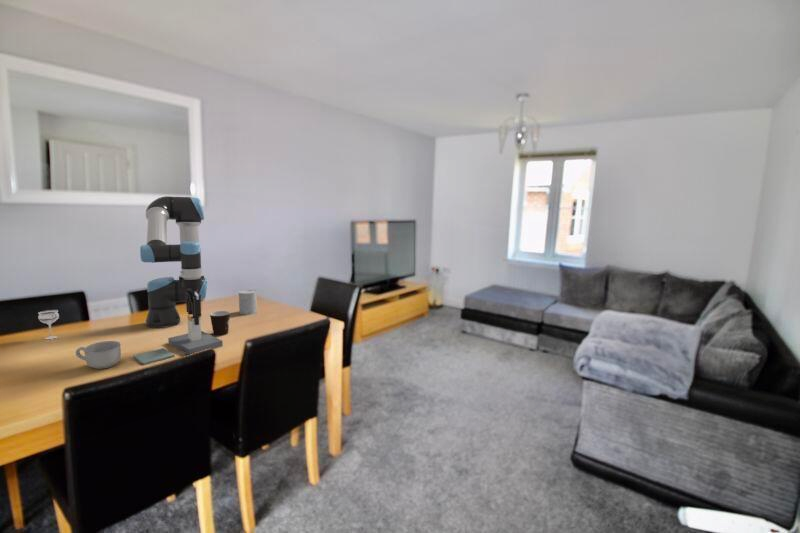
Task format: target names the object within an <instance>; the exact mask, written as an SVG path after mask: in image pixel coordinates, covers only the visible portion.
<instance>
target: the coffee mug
mask: <svg viewBox="0 0 800 533" xmlns="http://www.w3.org/2000/svg"><path fill="white" fill-rule="evenodd" d="M230 315H231V313H230V311H228V310H218V311H212V312H211V313H210V314H209V317H210V322H211V328H212V334H213V336H217V337H220V336H221V337H222V336H225V335H228V334H229V327H230Z"/></svg>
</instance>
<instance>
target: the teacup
mask: <svg viewBox="0 0 800 533" xmlns="http://www.w3.org/2000/svg"><path fill="white" fill-rule="evenodd" d="M121 345H122V344H121V342H119V341H117V340H105V341H104V340H103V341H98V342H95V343H91V344H89V345H87V346H86V347H84V346H81V347H78V348H77V349H76V350H75V356H76V357H77V358H78V359H80V360H83V361H85V362H86V365H87V366H88V367H89V368H93V369H95V370H104V369H108V368H111V367H113V366H115V365H116V364H117V363H118V362H119V361H120V360H121V356H122V355H121V354H122V351H121ZM80 351H83V352H84V355H83V354H81V353H80Z"/></svg>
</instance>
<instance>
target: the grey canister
mask: <svg viewBox="0 0 800 533" xmlns="http://www.w3.org/2000/svg"><path fill="white" fill-rule="evenodd" d="M257 292H258V291H257V290H255V289H254V290H253V289H243V290H240V291H238V304H239V306H238V307H239V308H238V309H239V314H240V315H244V316H249V315H255V314H257V313H258V304H257V303H258V301H257Z"/></svg>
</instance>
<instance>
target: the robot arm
mask: <svg viewBox="0 0 800 533" xmlns="http://www.w3.org/2000/svg"><path fill="white" fill-rule="evenodd" d="M145 218H146V220H147V231H146V234H147V236H146V244H142V245H140V247H139V248H140V249H139V252H140V253H139V254H140V260H141V262H142V263H153V264H154V263H174V262H175V263H176V262H180V265H181V267H180V269H181V270H180V271H179V275H178V279H175V278H174V277H173V276H165V277H160V278H155V279H151V280H149V281H148V282H147V288H146V289H147V290H146V292H147V303H148V305H147V306H148V312H147V315H146V318H145V326H146V327H147V328H166V327H173V326H175V325H177V324H180V323H181V315H180V314H179V312H178V309H177V307H176V303H185V304H186V305H185V306H186V307H185V308H186V313H187V315H190V314H193V317H191V318H192V327H193V333H194V332H199V331H200V319H199V317H200V318H201V317H202V304H201V303H202V302H201V301H204V300H205V299H206V296H207V291H208V290H207V289H208V278H207V277H205V274H204V273H202V272H203V271H202V270H203V268H202V255H201V254H202V252H201V250H202V249H201V244H200V238H199V236H200V235H199V234H200V233H199V227H200V226H201V224H202V221H204V220H205V216H204V210H203V204H202V201H201V199H200V198H199V197H194V196H170V195H169V196H168V195H165V196H162V197H158V198H156V199H154V200H152V202H150V203H149V204H148V206H147V208H146V211H145ZM168 220H175V224H176V225H177V226H178V228H179V243H180V244H168V242H167V241H168V234H167V233H168V226H167V225H168V223H167V222H168Z"/></svg>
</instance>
